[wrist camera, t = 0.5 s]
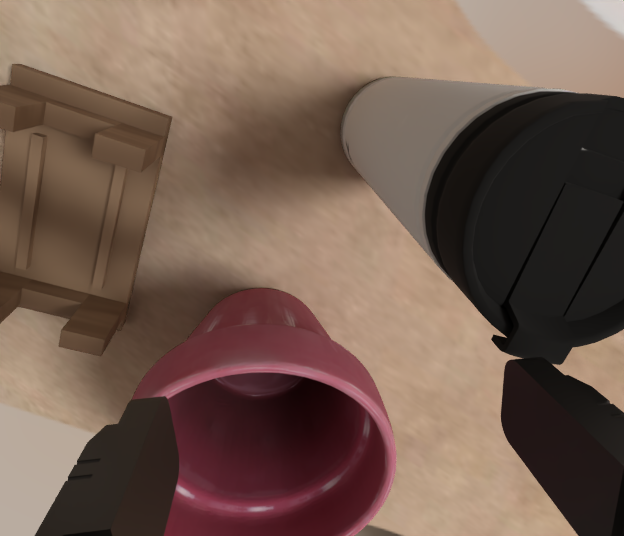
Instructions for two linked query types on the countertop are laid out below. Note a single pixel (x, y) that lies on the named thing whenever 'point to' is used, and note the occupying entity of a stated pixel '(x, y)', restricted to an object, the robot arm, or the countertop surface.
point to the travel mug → (505, 199)
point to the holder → (74, 202)
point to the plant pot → (272, 425)
